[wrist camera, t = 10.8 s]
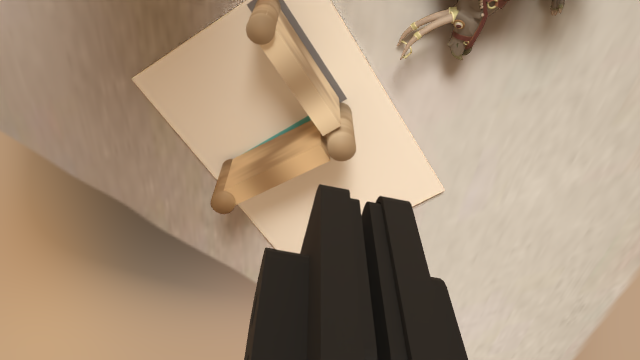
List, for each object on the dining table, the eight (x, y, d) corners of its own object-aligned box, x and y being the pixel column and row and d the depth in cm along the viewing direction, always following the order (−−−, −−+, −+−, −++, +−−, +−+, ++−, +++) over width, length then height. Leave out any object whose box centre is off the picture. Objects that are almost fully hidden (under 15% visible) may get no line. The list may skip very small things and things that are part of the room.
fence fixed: (249, 4, 39) (238, 26, 34) (272, -12, 38) (265, 9, 33) (335, 129, 44) (337, 165, 39) (356, 117, 43) (361, 152, 38)
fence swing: (319, 113, 43) (319, 145, 38) (330, 132, 43) (331, 165, 39) (217, 164, 45) (205, 199, 40) (229, 180, 46) (219, 217, 41)
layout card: (132, 77, 42) (131, 79, 41) (306, -41, 37) (306, -40, 37) (291, 264, 51) (290, 267, 51) (443, 188, 47) (445, 190, 47)
